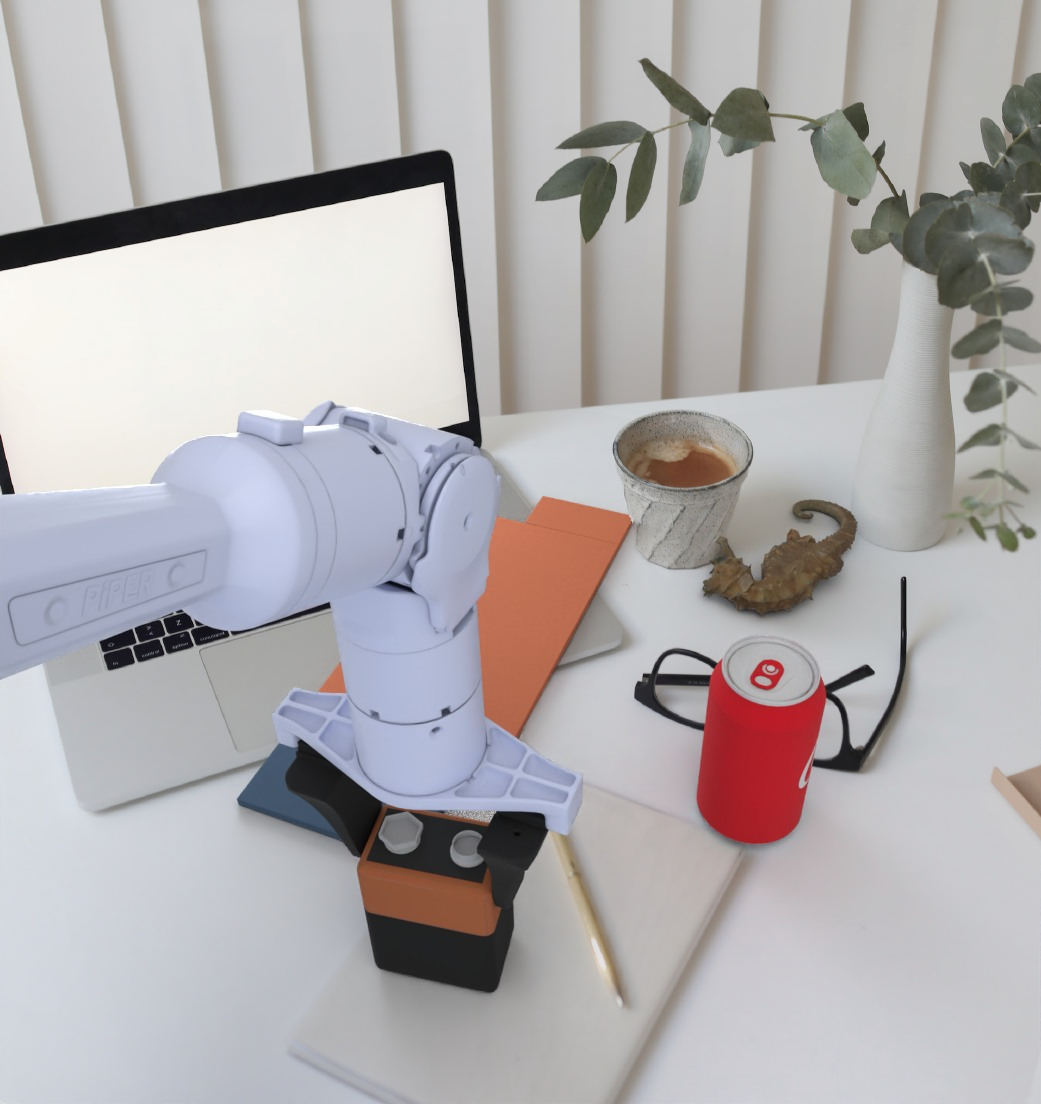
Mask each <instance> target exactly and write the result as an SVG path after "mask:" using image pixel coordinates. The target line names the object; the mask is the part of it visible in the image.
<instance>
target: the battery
mask: <svg viewBox="0 0 1041 1104" xmlns="http://www.w3.org/2000/svg"><path fill="white" fill-rule="evenodd" d="M489 823H490V821H485V820H479V819H474V818H468V817H463V816H457V815H453V814H452V815H451V814H447V813H436V812H431V811H426V810H412V809H403V808H398V807H394V806H391V805H388V804H387V805H385V806H383V807H382V809H381V811H380V813H379V815H378V818H377V820H376V822H375V825H374V827H373V829H372V832H371V834H370V837H369V839H368V841H367V844H366V846H365V849H364V851H363V853H362V856H361V858H359V861H358V862H357V866H356V873H357V874H356V875H357V878H358V884H359V889H360V894H361V899H362V905H363V910H364V914H365V919H366V924H367V930H368V934H369V935H368V936H369V939H370V944H371V950H372V956H373V960H374V963H375V966H376V967H377V968H378V969H379V970H382V971H386V972H390V973H396V974H399V975H404V976H408V977H412V978H413V977H414V978H418V979H423V980H426V981H432V982H435V983H441V984H445V985H449V986H453V987H459V988H464V989H468V990H473V991H477V992H482V993H487V994H489V993H490V994H492V993H494V992H496V991H497V989H499V985H500V981H501V977H502V974H503V970H504V967H505V963H506V959H507V955H508V952H509V949H510V945H511V941H512V937H513V933H514V929H515V912H514V911H515V908H514V902H513V903H512V905H511V907H510V909H508V910H506V909H503V908H500V907H497V906H495V904H494V902H493V898H492V880H491V875H490V871H489V869H488V866H487V864H486V862H485V861H484V859H483V858H482V857H481V856H480V855H479V854H477V846H478V844H479V842H480V840H481V838H482V836H483V835H484V833H485V831H486V829H487V827H488V825H489Z"/></svg>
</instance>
